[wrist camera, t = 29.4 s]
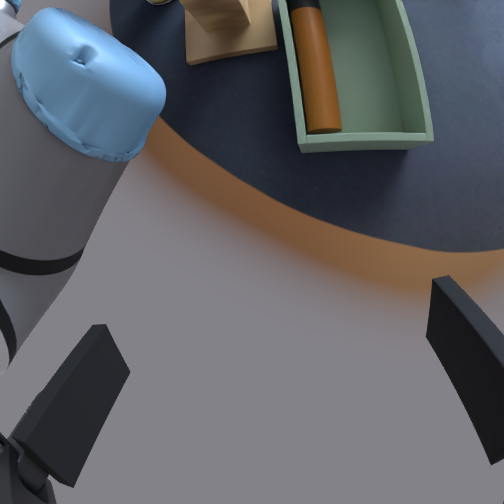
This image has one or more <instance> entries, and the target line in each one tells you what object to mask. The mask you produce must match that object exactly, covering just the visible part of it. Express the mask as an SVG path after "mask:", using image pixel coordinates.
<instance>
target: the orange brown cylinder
mask: <svg viewBox="0 0 504 504" xmlns="http://www.w3.org/2000/svg"><path fill="white" fill-rule="evenodd" d="M287 2H288V8H289V13H290V18H291V24H292V29H293V35H294V41H295V47H296V53H297V60H298V66H299V73H300V80H301V87H302V95H303V102H304V110H305V119H306V127H307V133H310V134H330V133H336V132H340V131H342V123H341V115H340V108H339V101H338V94H337V88H336V81H335V75H334V69H333V64H332V58H331V53H330V48H329V43H328V38H327V33H326V28H325V24H324V19H323V15H322V10H321V6H320V2H319V0H287Z"/></svg>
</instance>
